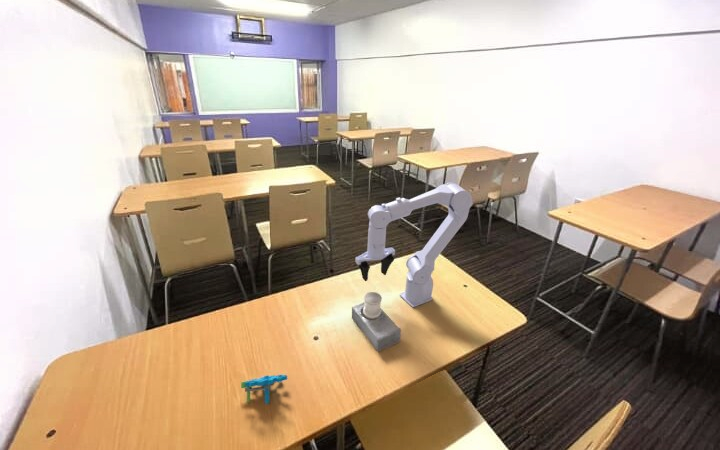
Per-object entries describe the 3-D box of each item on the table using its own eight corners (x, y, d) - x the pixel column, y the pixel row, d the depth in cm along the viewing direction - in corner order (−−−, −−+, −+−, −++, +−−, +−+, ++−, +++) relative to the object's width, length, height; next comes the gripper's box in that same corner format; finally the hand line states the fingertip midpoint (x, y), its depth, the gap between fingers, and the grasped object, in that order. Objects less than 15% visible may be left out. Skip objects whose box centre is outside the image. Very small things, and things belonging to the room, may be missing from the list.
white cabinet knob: (375, 305, 99) (377, 290, 96) (383, 316, 94) (385, 301, 92) (360, 309, 97) (361, 294, 94) (367, 320, 92) (368, 305, 90)
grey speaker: (372, 309, 104) (373, 299, 102) (400, 341, 91) (401, 330, 89) (351, 317, 100) (351, 306, 98) (377, 351, 87) (378, 340, 85)
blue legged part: (291, 370, 79) (280, 376, 70) (292, 395, 77) (281, 405, 68) (249, 376, 79) (233, 382, 70) (249, 401, 77) (233, 411, 68)
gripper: (387, 232, 104) (385, 265, 110) (351, 241, 98) (350, 275, 103) (400, 241, 99) (396, 275, 105) (362, 251, 92) (360, 287, 98)
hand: (374, 276), depth 104 cm, fingers open, 7 cm apart
